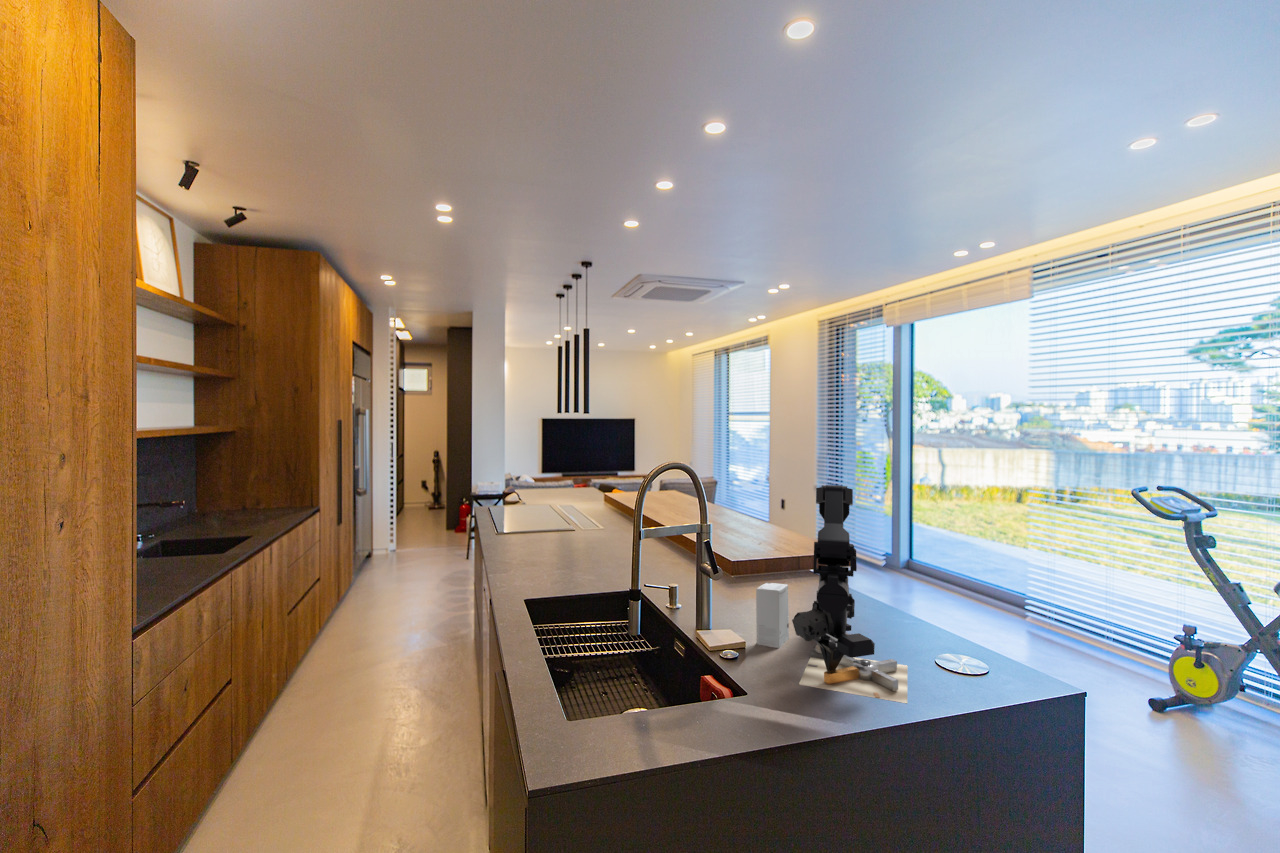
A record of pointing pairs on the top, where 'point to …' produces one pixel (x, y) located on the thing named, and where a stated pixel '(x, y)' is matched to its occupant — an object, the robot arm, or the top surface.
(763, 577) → the top surface
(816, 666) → the board with rotating cross
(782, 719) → the top surface
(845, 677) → the capstan
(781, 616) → the skincare box
